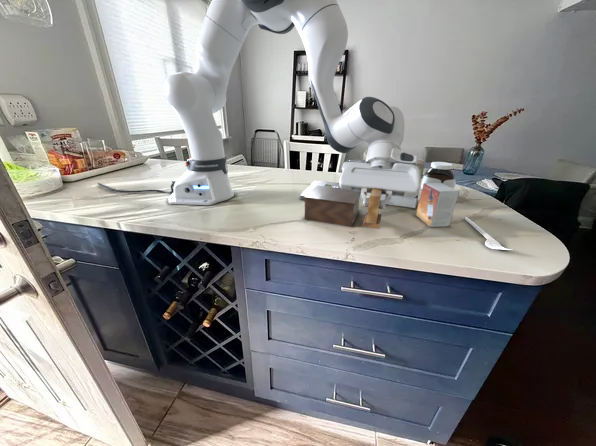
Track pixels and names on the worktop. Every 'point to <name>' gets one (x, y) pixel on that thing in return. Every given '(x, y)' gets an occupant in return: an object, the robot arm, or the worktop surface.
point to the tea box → (406, 200)
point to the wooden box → (332, 205)
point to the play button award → (320, 183)
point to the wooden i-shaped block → (373, 210)
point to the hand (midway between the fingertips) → (373, 207)
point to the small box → (436, 204)
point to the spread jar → (440, 174)
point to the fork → (487, 237)
